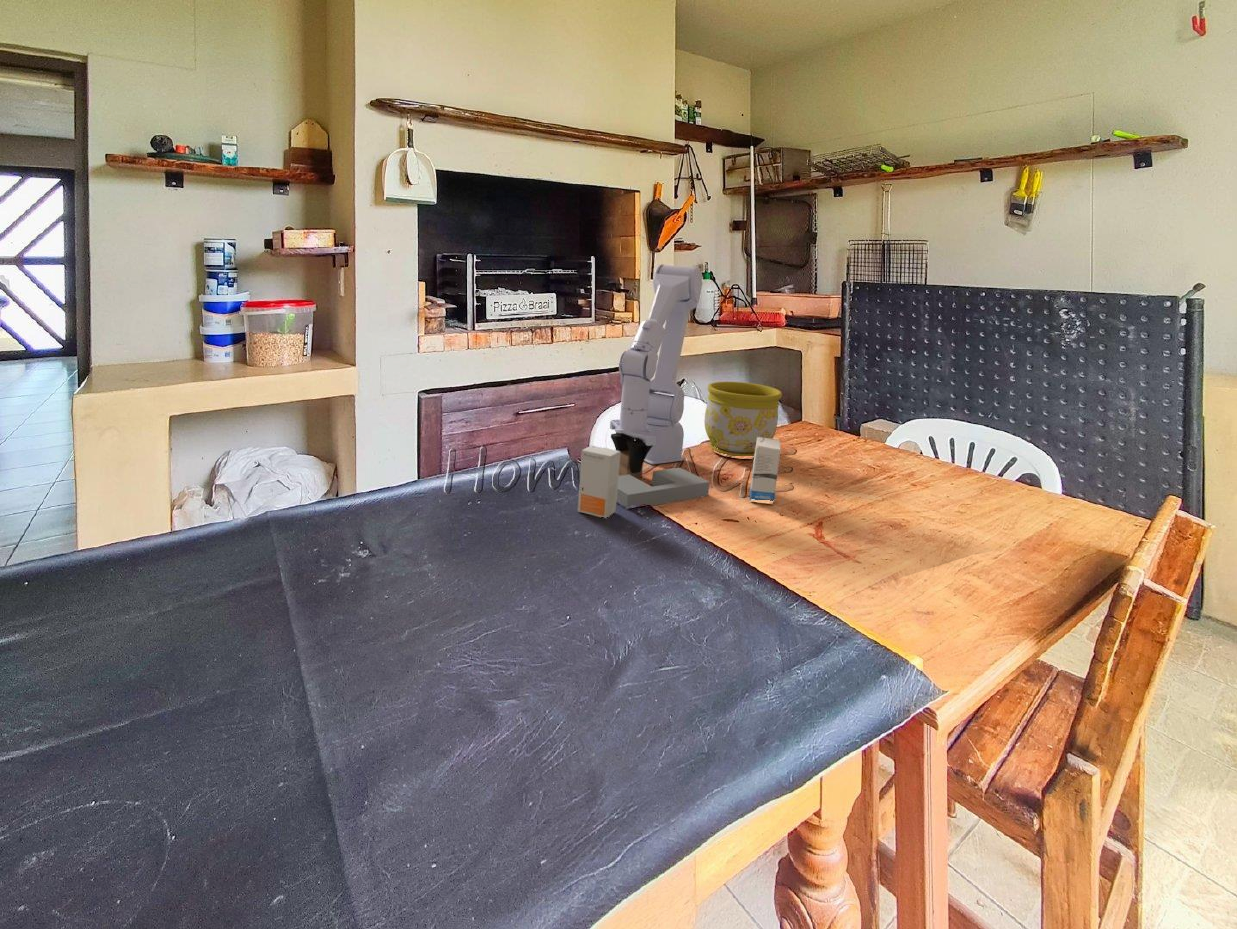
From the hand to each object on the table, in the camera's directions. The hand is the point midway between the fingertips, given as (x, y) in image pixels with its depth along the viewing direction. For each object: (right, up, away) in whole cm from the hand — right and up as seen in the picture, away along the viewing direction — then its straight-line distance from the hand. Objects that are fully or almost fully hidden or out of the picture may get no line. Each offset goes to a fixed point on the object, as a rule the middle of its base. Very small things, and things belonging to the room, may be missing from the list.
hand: (629, 469), depth 148 cm
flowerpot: (+27, +4, +24) cm, 37 cm away
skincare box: (-6, -8, -22) cm, 24 cm away
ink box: (+27, -6, -7) cm, 28 cm away
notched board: (+5, -5, -10) cm, 12 cm away
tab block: (0, -1, 0) cm, 1 cm away
